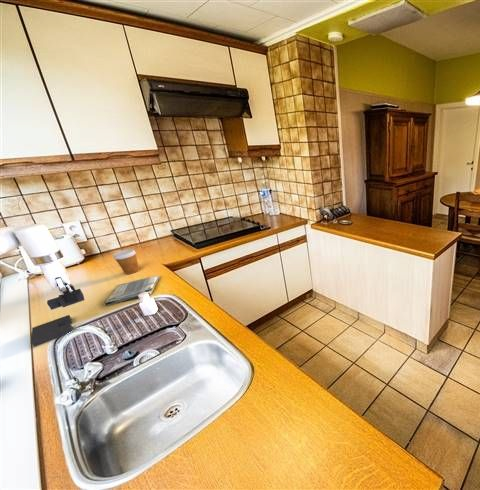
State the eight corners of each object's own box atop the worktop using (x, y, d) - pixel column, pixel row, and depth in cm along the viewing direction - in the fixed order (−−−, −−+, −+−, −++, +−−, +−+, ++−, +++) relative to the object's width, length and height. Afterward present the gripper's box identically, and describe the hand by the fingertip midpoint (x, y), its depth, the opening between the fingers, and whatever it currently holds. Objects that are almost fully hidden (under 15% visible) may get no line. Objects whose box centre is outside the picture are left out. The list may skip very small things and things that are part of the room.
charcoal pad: (74, 333, 102) (70, 327, 101) (35, 348, 96) (30, 342, 94) (72, 320, 110) (69, 314, 109) (36, 333, 103) (32, 327, 102)
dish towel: (118, 287, 133) (115, 282, 132) (160, 278, 140) (158, 272, 139) (103, 307, 118) (100, 301, 116) (152, 295, 124) (150, 290, 123)
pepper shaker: (143, 316, 110) (134, 297, 106) (148, 311, 114) (139, 292, 110) (154, 314, 111) (146, 295, 107) (159, 309, 114) (150, 290, 111)
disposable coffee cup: (140, 266, 155) (132, 247, 150) (145, 270, 149) (136, 251, 144) (119, 272, 148) (110, 253, 143) (123, 277, 142) (114, 257, 138)
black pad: (84, 300, 105) (80, 293, 103) (51, 311, 99) (46, 305, 97) (83, 294, 108) (79, 288, 107) (51, 305, 102) (47, 299, 101)
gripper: (33, 255, 100) (58, 295, 107) (31, 268, 89) (59, 311, 96) (61, 248, 105) (83, 287, 112) (62, 260, 94) (87, 302, 101)
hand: (72, 298), depth 104 cm, fingers closed on black pad, 6 cm apart
